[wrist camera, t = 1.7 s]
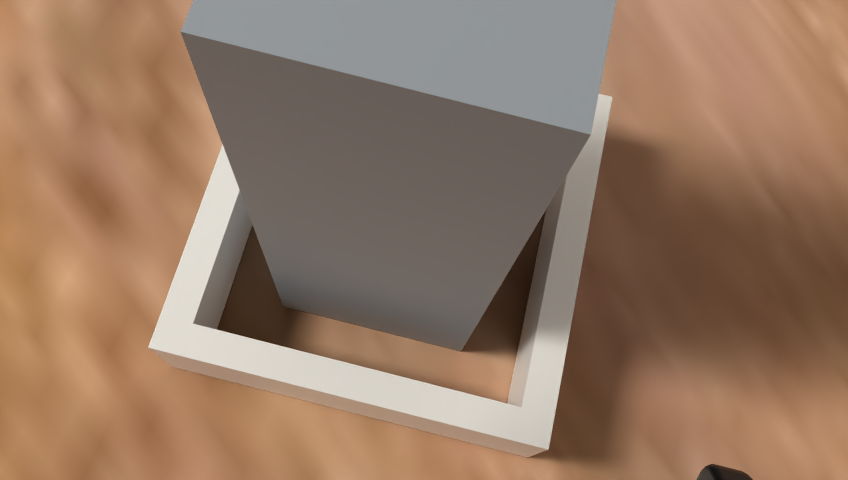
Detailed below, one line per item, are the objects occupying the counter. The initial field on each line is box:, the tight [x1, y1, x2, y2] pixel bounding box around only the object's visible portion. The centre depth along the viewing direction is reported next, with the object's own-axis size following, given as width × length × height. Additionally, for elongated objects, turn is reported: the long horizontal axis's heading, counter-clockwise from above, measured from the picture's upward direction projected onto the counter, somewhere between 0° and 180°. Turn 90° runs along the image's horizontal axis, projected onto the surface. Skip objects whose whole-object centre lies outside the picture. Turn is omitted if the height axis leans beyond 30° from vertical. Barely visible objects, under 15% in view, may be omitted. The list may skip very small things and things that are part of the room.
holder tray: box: [148, 94, 612, 457], centre depth 21 cm, size 10×10×2 cm
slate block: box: [181, 0, 616, 351], centre depth 16 cm, size 5×5×13 cm
